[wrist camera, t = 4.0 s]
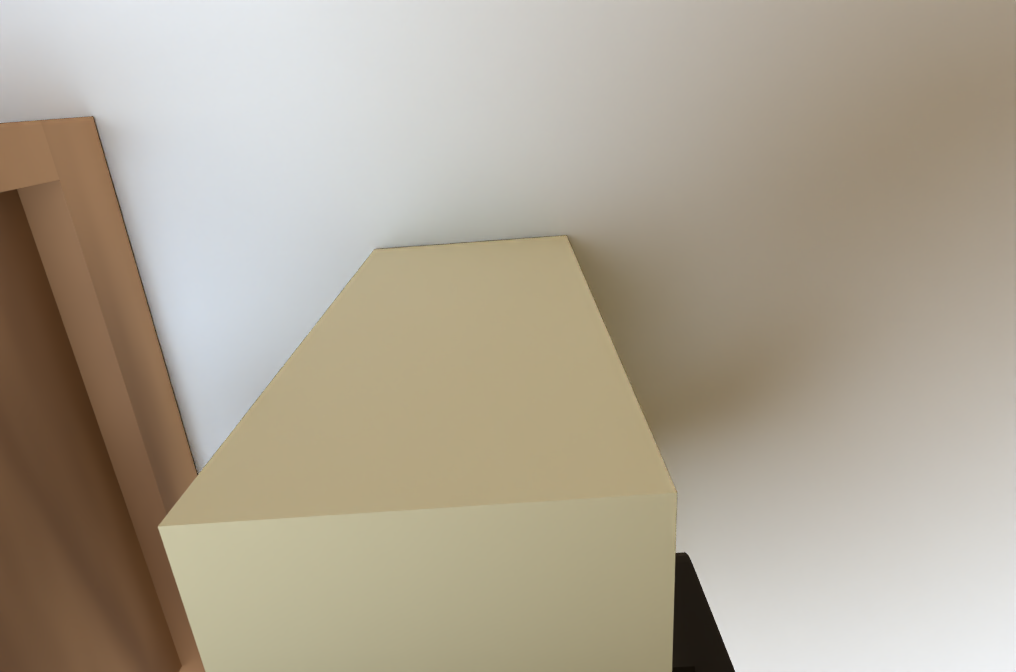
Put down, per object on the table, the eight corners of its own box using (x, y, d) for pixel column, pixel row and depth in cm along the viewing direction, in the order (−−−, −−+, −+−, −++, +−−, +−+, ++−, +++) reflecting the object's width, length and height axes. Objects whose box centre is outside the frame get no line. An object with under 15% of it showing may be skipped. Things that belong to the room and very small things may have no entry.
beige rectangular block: (568, 235, 13) (684, 492, 5) (583, 610, 17) (662, 1127, 9) (371, 249, 13) (152, 526, 5) (428, 620, 17) (356, 1141, 9)
